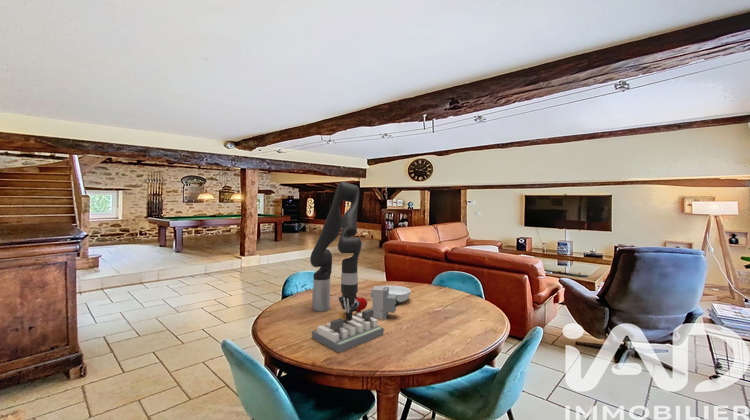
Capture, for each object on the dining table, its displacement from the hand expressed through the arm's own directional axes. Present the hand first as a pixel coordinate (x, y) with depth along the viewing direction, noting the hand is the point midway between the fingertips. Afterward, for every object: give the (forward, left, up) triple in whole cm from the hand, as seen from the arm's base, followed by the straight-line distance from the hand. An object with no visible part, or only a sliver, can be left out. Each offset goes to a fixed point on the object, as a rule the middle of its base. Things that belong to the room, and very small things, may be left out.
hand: (349, 320), depth 145 cm
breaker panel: (0, 0, -7) cm, 7 cm away
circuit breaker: (-6, +30, -8) cm, 32 cm away
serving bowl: (-21, +53, -8) cm, 57 cm away
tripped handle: (-3, 0, -4) cm, 5 cm away
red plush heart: (-16, +20, -8) cm, 27 cm away
